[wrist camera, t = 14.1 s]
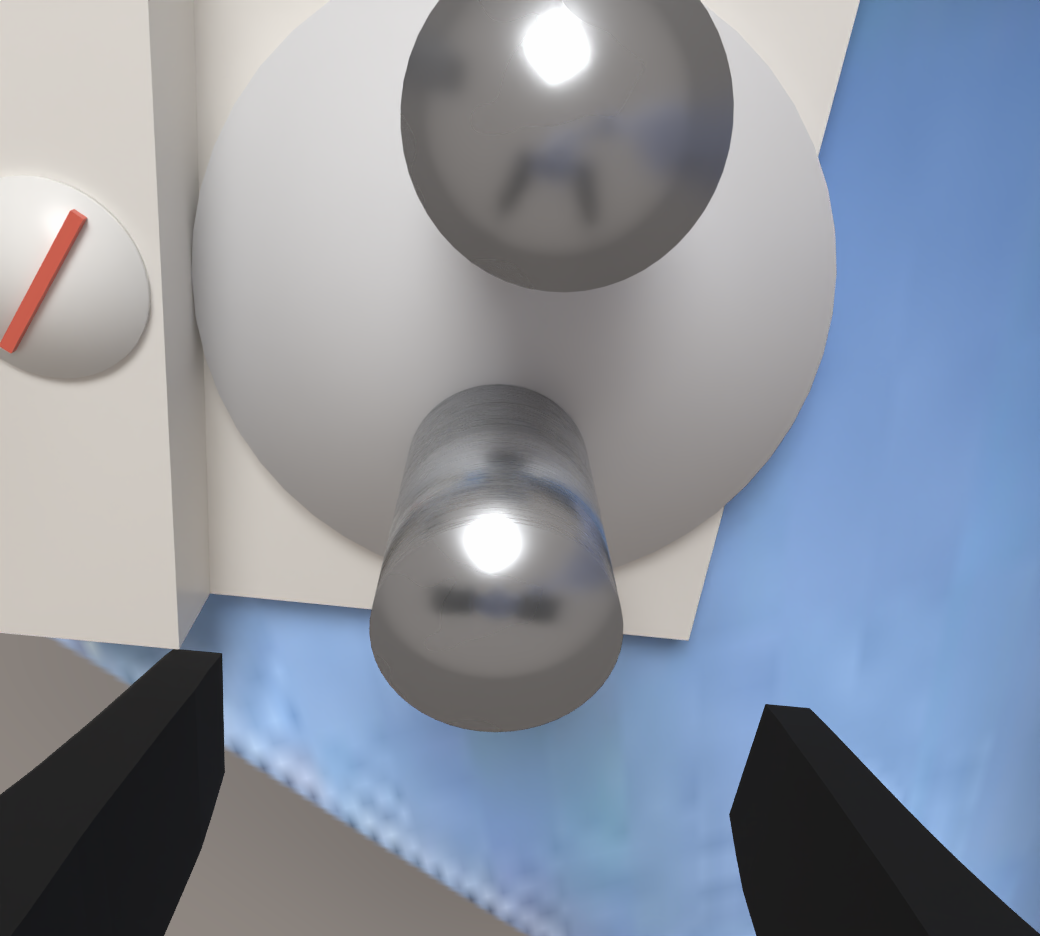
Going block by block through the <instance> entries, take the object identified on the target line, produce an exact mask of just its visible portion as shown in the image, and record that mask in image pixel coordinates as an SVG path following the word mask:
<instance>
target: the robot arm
mask: <svg viewBox="0 0 1040 936" xmlns="http://www.w3.org/2000/svg"><path fill="white" fill-rule="evenodd" d="M224 767H225V766H224V719H223V673H222V653H212V652H201V651H191V650H180V649H173V650H172V651H170V652H169V653H168V654H166V655H165V656H164V657H163V658H162V659H161V660H159V661H158V662H157V663H156V664H155V665H154V666H153V667H151V668H150V669H149V670H148V671H147V672H146V673H145V674H144V675H143V676H141V677H140V678H139V679H138V680H137V681H136V682H135V683H134V684H133V685H131V686H130V687H129V688H128V689H127V690H126V691H125V692H124V693H122V694H121V695H120V696H119V697H118V698H117V699H116V700H115V701H114V702H112V703H111V704H110V705H109V706H108V707H107V708H105V709H104V710H103V711H102V712H101V713H100V714H99V715H98V716H96V717H95V718H94V719H93V720H92V721H91V722H89V723H88V724H87V725H86V726H85V727H83V728H82V729H81V730H80V731H79V732H78V733H77V734H75V735H74V736H73V737H72V738H70V739H69V740H68V741H67V742H66V743H64V744H63V745H62V746H61V747H60V748H59V749H57V750H56V751H55V752H54V753H52V755H50V756H49V757H48V758H47V759H45V760H44V761H43V762H42V763H40V764H39V765H38V766H37V767H35V768H34V769H33V770H32V771H30V772H29V773H28V774H27V775H25V776H24V777H23V778H21V779H20V780H19V781H18V782H16V783H15V784H14V785H12V786H11V787H10V788H8V789H7V790H6V791H5V792H3V793H2V794H1V795H0V936H164V934H165V932H166V930H167V927H168V925H169V923H170V920H171V918H172V916H173V914H174V911H175V909H176V907H177V904H178V902H179V900H180V897H181V895H182V893H183V891H184V888H185V886H186V884H187V881H188V879H189V877H190V874H191V872H192V870H193V867H194V865H195V863H196V860H197V858H198V856H199V853H200V851H201V848H202V845H203V842H204V839H205V836H206V832H207V829H208V826H209V823H210V820H211V817H212V813H213V810H214V806H215V803H216V800H217V797H218V793H219V790H220V786H221V783H222V780H223V776H224V773H225V768H224ZM729 815H730V821H731V827H732V833H733V839H734V845H735V851H736V857H737V862H738V868H739V873H740V878H741V883H742V888H743V892H744V896H745V899H746V903H747V906H748V909H749V913H750V916H751V919H752V923H753V926H754V929H755V932H756V936H1040V934H1039V933H1038V932H1037V931H1036V930H1035V929H1033V928H1032V927H1031V926H1030V925H1029V924H1028V923H1027V922H1025V921H1024V920H1023V919H1022V918H1021V917H1020V916H1018V915H1017V914H1016V913H1015V912H1014V911H1013V910H1012V909H1011V908H1009V907H1008V906H1007V905H1006V904H1005V903H1004V902H1003V901H1002V900H1001V899H1000V898H999V897H997V896H996V895H995V894H994V893H993V892H992V891H991V890H990V889H989V888H988V887H987V886H986V885H985V884H983V883H982V882H981V881H980V880H979V879H978V878H977V877H976V876H975V875H974V874H973V873H972V872H970V871H969V870H968V869H967V868H966V867H965V866H964V865H963V864H962V863H961V862H960V861H959V860H958V859H957V858H956V857H955V856H954V855H953V854H952V853H951V852H950V851H948V850H947V849H946V848H945V847H944V846H943V845H942V844H941V843H940V842H939V841H938V840H937V839H936V838H935V837H934V836H933V835H932V834H931V833H930V832H929V831H928V830H927V829H926V828H925V827H924V826H923V825H922V824H921V823H920V822H919V821H918V820H917V819H916V818H915V817H914V816H913V815H912V814H911V813H910V812H909V811H908V810H907V809H906V808H905V807H904V806H903V805H902V804H901V802H900V801H899V800H898V799H897V798H896V797H895V796H894V795H893V794H892V793H891V792H890V791H889V790H888V789H887V788H886V787H885V786H884V785H883V784H882V783H881V782H880V781H879V780H878V779H877V778H876V776H875V775H874V774H873V773H872V772H871V771H870V770H869V769H868V768H867V767H866V766H865V765H864V764H863V763H862V762H861V761H860V760H859V759H858V758H857V756H856V755H855V754H854V753H853V752H852V751H851V750H850V749H849V748H848V747H847V746H846V745H845V744H844V743H843V742H842V741H841V740H840V739H839V738H838V737H837V735H836V734H835V733H834V732H833V731H832V730H831V729H830V728H829V727H828V726H827V725H826V724H825V723H824V722H823V721H822V720H821V719H820V718H819V717H818V716H817V715H816V714H815V713H814V712H813V711H812V710H811V709H810V708H801V707H790V706H779V705H769V704H765V707H764V710H763V714H762V717H761V720H760V723H759V726H758V729H757V732H756V735H755V738H754V741H753V744H752V747H751V750H750V753H749V756H748V759H747V762H746V765H745V768H744V771H743V774H742V777H741V781H740V784H739V787H738V790H737V793H736V796H735V799H734V802H733V805H732V808H731V811H730V814H729Z"/></svg>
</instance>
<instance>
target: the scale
mask: <svg viewBox="0 0 1040 936" xmlns="http://www.w3.org/2000/svg"><path fill="white" fill-rule="evenodd" d="M438 1H439V0H0V633H9V634H19V635H31V636H41V637H52V638H62V639H73V640H84V641H94V642H105V643H116V644H126V645H137V646H148V647H159V648H169V649H180V647H181V645H182V644H183V642H184V640H185V638H186V636H187V635H188V633H189V631H190V629H191V627H192V625H193V624H194V622H195V620H196V618H197V616H198V615H199V613H200V611H201V609H202V607H203V606H204V604H205V602H206V600H207V598H208V596H209V595H210V593H211V594H221V595H231V596H242V597H252V598H262V599H272V600H282V601H292V602H303V603H313V604H323V605H333V606H343V607H353V608H363V609H372V605H373V601H374V597H375V593H376V588H377V584H378V580H379V576H380V571H381V567H382V563H383V559H384V554H385V550H386V546H387V542H388V538H389V533H390V529H391V525H392V521H393V516H394V512H395V508H396V504H397V499H398V495H399V491H400V487H401V482H402V478H403V474H404V470H405V465H406V461H407V457H408V453H409V448H410V445H411V442H412V439H413V436H414V434H415V432H416V430H417V428H418V426H419V425H420V424H421V422H422V421H423V419H424V418H425V417H426V416H427V414H428V413H429V412H430V411H431V410H432V409H433V408H434V407H436V406H437V405H438V404H439V403H441V402H442V401H443V400H445V399H447V398H448V397H450V396H452V395H454V394H456V393H458V392H460V391H463V390H465V389H469V388H472V387H476V386H482V385H489V384H505V385H514V386H519V387H524V388H527V389H530V390H533V391H536V392H538V393H540V394H542V395H544V396H546V397H547V398H549V399H550V400H552V401H553V402H555V403H556V404H558V405H559V406H560V407H561V408H562V409H563V410H564V411H565V412H566V413H567V414H568V415H569V416H570V417H571V418H572V420H573V421H574V423H575V424H576V426H577V427H578V429H579V431H580V433H581V435H582V437H583V440H584V443H585V446H586V450H587V454H588V459H589V463H590V468H591V473H592V477H593V482H594V486H595V491H596V495H597V500H598V505H599V509H600V514H601V518H602V523H603V527H604V532H605V537H606V541H607V546H608V550H609V555H610V559H611V564H612V569H613V573H614V578H615V582H616V587H617V591H618V596H619V601H620V605H621V610H622V617H623V634H627V635H638V636H648V637H658V638H668V639H678V640H689V637H690V633H691V629H692V625H693V622H694V618H695V614H696V611H697V607H698V603H699V599H700V596H701V592H702V588H703V584H704V581H705V577H706V573H707V569H708V566H709V562H710V558H711V555H712V551H713V547H714V543H715V540H716V536H717V532H718V528H719V525H720V521H721V517H722V513H723V510H724V506H725V505H726V504H727V503H728V502H729V501H730V500H731V499H732V498H733V497H734V496H735V495H737V494H738V493H739V492H740V491H741V490H742V489H743V488H744V487H745V486H746V485H747V484H748V483H749V482H750V481H751V479H752V478H753V477H754V476H755V475H756V474H757V472H758V471H759V470H760V469H761V468H762V467H763V466H764V464H765V463H766V462H767V461H768V460H769V459H770V457H771V456H772V454H773V453H774V451H775V450H776V449H777V447H778V446H779V444H780V443H781V441H782V440H783V438H784V437H785V435H786V434H787V432H788V431H789V429H790V428H791V426H792V425H793V423H794V421H795V419H796V417H797V415H798V413H799V411H800V409H801V407H802V405H803V403H804V401H805V399H806V397H807V395H808V394H809V392H810V389H811V386H812V383H813V381H814V378H815V375H816V373H817V370H818V367H819V364H820V362H821V359H822V356H823V353H824V349H825V345H826V340H827V336H828V331H829V327H830V323H831V318H832V314H833V303H834V293H835V283H836V246H835V228H834V222H833V216H832V210H831V204H830V199H829V193H828V187H827V184H826V181H825V178H824V175H823V172H822V168H821V165H820V162H819V159H818V155H819V151H820V147H821V144H822V140H823V136H824V132H825V129H826V125H827V121H828V117H829V114H830V110H831V106H832V102H833V99H834V95H835V91H836V88H837V84H838V80H839V76H840V73H841V69H842V65H843V61H844V58H845V54H846V50H847V46H848V43H849V39H850V35H851V31H852V28H853V24H854V20H855V17H856V13H857V9H858V5H859V2H860V0H700V1H701V2H702V4H703V5H704V7H705V8H706V9H707V11H708V13H709V15H710V17H711V19H712V21H713V22H714V24H715V26H716V28H717V30H718V32H719V35H720V38H721V41H722V43H723V46H724V49H725V52H726V55H727V59H728V63H729V68H730V73H731V77H732V87H733V98H734V114H733V130H732V136H731V143H730V149H729V153H728V156H727V160H726V163H725V167H724V171H723V173H722V176H721V178H720V181H719V183H718V185H717V188H716V190H715V193H714V194H713V196H712V198H711V200H710V202H709V203H708V205H707V207H706V209H705V211H704V212H703V214H702V215H701V216H700V218H699V219H698V221H697V222H696V223H695V225H694V226H693V227H692V229H691V230H690V231H689V232H688V233H687V234H686V236H685V237H684V238H683V239H682V240H681V241H680V242H679V243H678V244H677V245H676V246H675V247H674V248H673V249H672V250H670V251H669V252H668V253H667V254H666V255H665V256H663V257H662V258H661V259H660V260H658V261H657V262H655V263H654V264H652V265H651V266H649V267H648V268H646V269H645V270H643V271H641V272H639V273H637V274H635V275H633V276H631V277H629V278H627V279H625V280H623V281H620V282H617V283H614V284H611V285H608V286H606V287H601V288H596V289H592V290H587V291H578V292H546V291H540V290H534V289H529V288H524V287H521V286H518V285H515V284H512V283H509V282H506V281H504V280H502V279H500V278H497V277H495V276H493V275H491V274H489V273H487V272H486V271H484V270H482V269H481V268H479V267H478V266H476V265H475V264H473V263H472V262H470V261H469V260H468V259H467V258H465V257H464V256H463V255H462V254H461V253H459V252H458V251H457V250H456V249H455V248H454V247H453V246H452V245H451V244H450V243H449V242H448V241H447V240H446V238H445V237H444V236H443V235H442V234H441V233H440V232H439V230H438V229H437V227H436V226H435V225H434V223H433V222H432V220H431V219H430V218H429V216H428V215H427V213H426V211H425V209H424V207H423V205H422V204H421V202H420V200H419V198H418V196H417V194H416V191H415V189H414V186H413V183H412V181H411V178H410V176H409V172H408V168H407V164H406V160H405V156H404V152H403V144H402V136H401V106H400V105H401V97H402V89H403V81H404V77H405V73H406V69H407V65H408V61H409V57H410V54H411V52H412V49H413V47H414V44H415V41H416V39H417V36H418V34H419V32H420V30H421V29H422V27H423V25H424V23H425V21H426V19H427V17H428V16H429V14H430V12H431V11H432V10H433V8H434V7H435V5H436V4H437V3H438Z"/></svg>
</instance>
